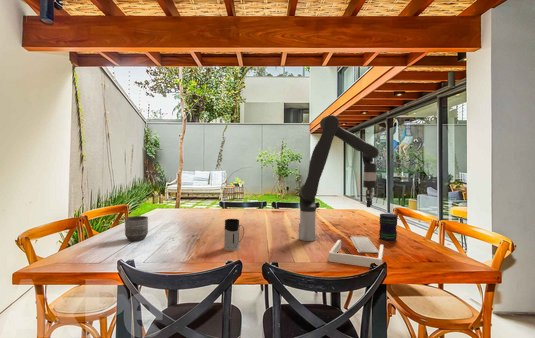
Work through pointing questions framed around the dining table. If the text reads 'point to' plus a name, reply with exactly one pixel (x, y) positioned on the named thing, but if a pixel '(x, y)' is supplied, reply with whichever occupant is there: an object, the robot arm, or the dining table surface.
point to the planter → (136, 228)
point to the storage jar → (388, 227)
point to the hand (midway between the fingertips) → (369, 206)
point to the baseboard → (363, 245)
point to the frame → (353, 257)
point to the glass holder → (232, 235)
